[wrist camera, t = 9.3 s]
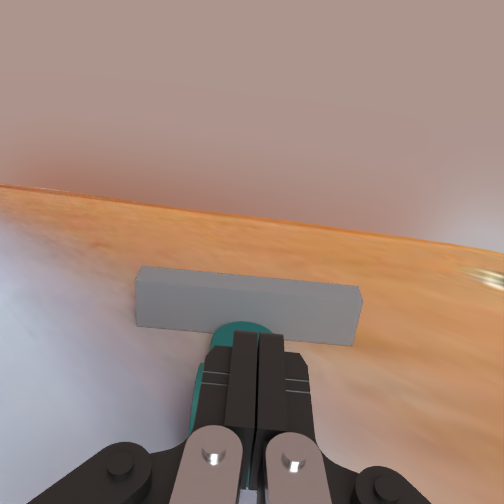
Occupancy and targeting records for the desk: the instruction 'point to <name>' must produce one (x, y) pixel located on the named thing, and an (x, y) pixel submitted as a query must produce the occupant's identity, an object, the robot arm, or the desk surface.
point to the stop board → (247, 304)
